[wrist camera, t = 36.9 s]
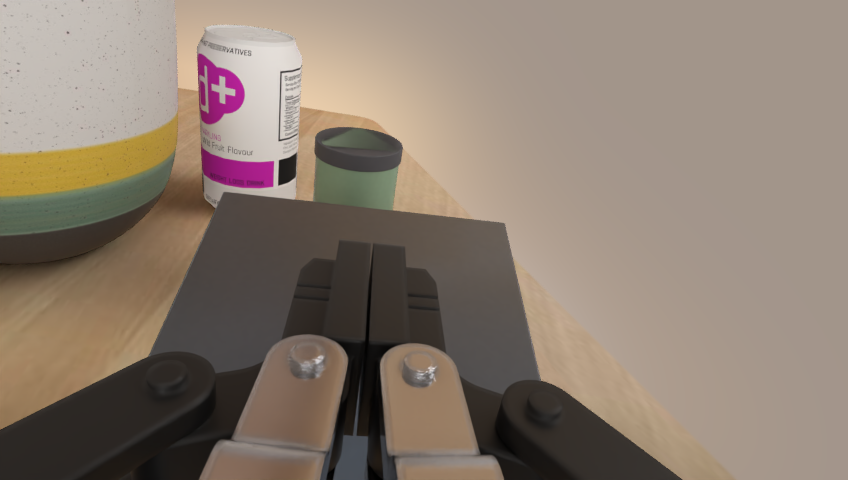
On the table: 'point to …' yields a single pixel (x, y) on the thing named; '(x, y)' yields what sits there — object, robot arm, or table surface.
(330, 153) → the spice tin
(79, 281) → the table surface
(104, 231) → the planter
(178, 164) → the table surface
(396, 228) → the lid
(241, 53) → the supplement can
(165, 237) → the table surface
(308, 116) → the table surface
